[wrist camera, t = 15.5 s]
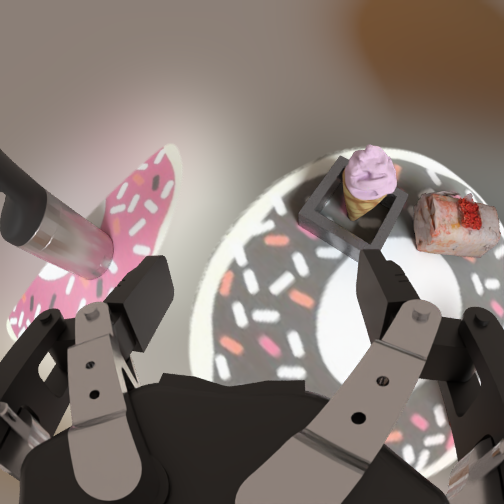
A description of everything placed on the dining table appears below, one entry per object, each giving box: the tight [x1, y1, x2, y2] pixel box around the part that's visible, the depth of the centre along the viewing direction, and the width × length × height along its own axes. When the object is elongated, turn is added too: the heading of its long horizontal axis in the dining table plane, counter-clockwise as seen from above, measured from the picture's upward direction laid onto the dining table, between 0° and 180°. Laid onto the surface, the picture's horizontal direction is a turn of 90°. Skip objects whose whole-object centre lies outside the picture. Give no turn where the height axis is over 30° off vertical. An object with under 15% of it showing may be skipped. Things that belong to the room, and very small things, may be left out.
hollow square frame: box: [299, 156, 409, 262], centre depth 39 cm, size 12×12×4 cm
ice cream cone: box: [343, 144, 397, 221], centre depth 34 cm, size 7×6×15 cm
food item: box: [414, 191, 501, 258], centre depth 32 cm, size 14×8×10 cm, turn 82°
